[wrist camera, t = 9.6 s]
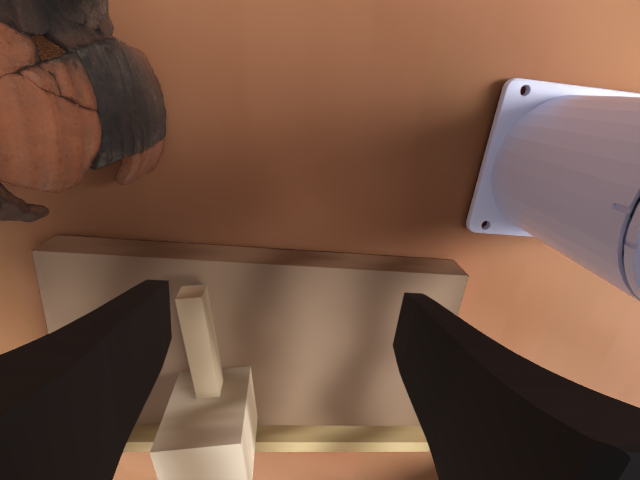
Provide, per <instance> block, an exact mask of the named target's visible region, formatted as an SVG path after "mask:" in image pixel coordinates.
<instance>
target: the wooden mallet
mask: <svg viewBox="0 0 640 480" xmlns="http://www.w3.org/2000/svg"><path fill="white" fill-rule="evenodd" d="M175 302H176V307H177V311H178V316H179V321H180V325H181V330H182V334H183V339H184V344H185V348H186V353H187V357H188V362H189V367H190V371H187V372H180V373H179V375H178V378H177V381H176V383H175V386H174V389H173V391H172V394H171V397H170V399H169V402H168V405H167V408H166V410H165V413H164V416H163V418H162V421H161V424H160V426H159V429H158V432H157V434H156V437H155V440H154V442H153V445H152V448H151V451H150V455H151V458H152V462H153V465H154V468H155V471H156V475H157V478H158V480H252V476H253V465H254V453H255V442H256V430H257V419H258V416H257V409H256V402H255V394H254V387H253V380H252V372H251V366H246V367H234V368H221V362H220V357H219V351H218V345H217V339H216V334H215V328H214V322H213V317H212V311H211V305H210V299H209V294H208V288H207V284H204V285H203V284H202V283H196V284H195V285H189V286H181V288H180V290H179V292H178V294H177V296H176V298H175Z"/></svg>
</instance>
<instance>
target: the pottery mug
mask: <svg viewBox="0 0 640 480" xmlns="http://www.w3.org/2000/svg"><path fill="white" fill-rule="evenodd" d="M113 30H114V28H113V24H112V22H111V20H110V18H109V13H108V0H0V180H1V181H3V182H6V183H9V184H12V185H21V186H25V187H27V188H30V189H36V190H44V191H48V192H60V191H62V190H64V189H68V188H72V187H73V186H75V185H78V184H79V183H80V182H81V181H82V179H83V177H84V176H85V174H86V172H87V170H88V169H89V168H91V169H94V170H97V169H99V168H102V167H105V166H108V165H110V164H112V163H113V162H115V161H119V160H122V162H121V165H120V168H119V170H118V172H117V174H116V176H115V178H114V179H115V181H116V182H117V183H118V184H119V185H126V184H129V183H131V182H133V181H135V180H136V179H138V178H140V177H141V176H142V175H144V174H145V173H148V172H150V171H152V170H153V169H154V167H155V166H156V164H157V163H158V161H159V158H160V156H161V154H162V150H163V145H164V138H165V134H166V110H165V106H164V101H163V94H162V91H161V87H160V84H159V81H158V79H157V77H156V76H155V74H154V72H153V69H152V68H151V65H150V64H149V62H148V61H147V59H146V57H145V56H144V54H143V53H142V52H141V51H140V50H138V49H135V48H132V47H129V46H128V45H127V44H126V43H124V42H122V41H119V40H117V39H116V38H115V37H113V36H112V34H113ZM40 35H43V36H44V37H46V38H47V39H48V40H50V41H51V42H53V43H55V44H56V45H58V46H60V47H61V48H62V49H64V50H65V51H66V53H65V54H64V55H63V56H61V57H57V58H54V59H50V60H45V61H42V60H41V59H40V57H39V52H38V49H37V46H36V45H35V43H34V42H33V40H32V39H31V37H30V36H40ZM48 213H49V209H47V208H46V207H44V206H41V205H35V204H27V203H26V202H25V201H23V200H22V199H19V198H17V197H16V196H14V195H13V194H12V193H10V192H9V191H8V190H7V189H6V188H5V187H4V186H3V185H2V184H1V183H0V221H6V220H12V221H24V222H33V221H36V220H38V219H40V218H42V217H45V216H47V215H48Z"/></svg>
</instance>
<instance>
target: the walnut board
mask: <svg viewBox="0 0 640 480" xmlns="http://www.w3.org/2000/svg"><path fill="white" fill-rule="evenodd" d="M32 256H33V261H34V266H35V271H36V276H37V280H38V285H39V290H40V295H41V300H42V305H43V310H44V314H45V319H46V324H47V329H48V334H50V333H52V332H54V331H56V330H58V329H60V328H61V327H63V326H65V325H67V324H69V323H71V322H73V321H75V320H76V319H78V318H80V317H82V316H84V315H86V314H88V313H90V312H91V311H93V310H95V309H97V308H98V307H100V306H102V305H104V304H105V303H107V302H109V301H110V300H112V299H114V298H115V297H117V296H119V295H121V294H122V293H124V292H126V291H127V290H129V289H131V288H132V287H134V286H136V285H138V284H139V283H141V282H143V281H145V280H147V279H148V280H168V281H169V293H170V312H171V330H172V339H171V342H170V346H169V349H168V352H167V355H166V358H165V361H164V364H163V367H162V370H161V372H160V374H159V376H158V378H157V380H156V382H155V385H154V387H153V389H152V391H151V393H150V395H149V397H148V399H147V401H146V403H145V405H144V407H143V410H142V412H141V414H140V416H139V418H138V420H137V422H136V424H135V426H134V428H133V430H132V432H131V434H130V437H129V439H128V441H127V443H126V446H125V448H124V450H123V452H150V451H151V448H152V445H153V442H154V440H155V437H156V434H157V432H158V429H159V426H160V424H161V421H162V418H163V416H164V413H165V410H166V408H167V405H168V402H169V399H170V397H171V394H172V391H173V389H174V386H175V383H176V381H177V378H178V375H179V373H180V372H187V371H190V367H189V362H188V357H187V353H186V348H185V344H184V339H183V334H182V330H181V325H180V321H179V316H178V311H177V307H176V302H175V298H176V296H177V294H178V292H179V290H180V288H181V286H189V285H195V284H196V283H202V284H203V285H204V284H207V288H208V294H209V299H210V305H211V311H212V317H213V322H214V328H215V334H216V339H217V345H218V351H219V357H220V362H221V368H234V367H246V366H251V372H252V380H253V387H254V394H255V402H256V409H257V416H258V419H257V430H256V442H255V452H426V451H429V450H430V448H429V446H428V443H427V440H426V437H425V435H424V433H423V430H422V428H421V425H420V423H419V420H418V418H417V415H416V413H415V411H414V408H413V406H412V403H411V401H410V398H409V396H408V393H407V391H406V388H405V386H404V383H403V381H402V378H401V376H400V373H399V369H398V365H397V362H396V358H395V353H394V349H393V341H394V337H395V332H396V328H397V323H398V319H399V314H400V309H401V305H402V300H403V296H404V293H423V294H425V295H427V296H428V297H430V298H432V299H433V300H435V301H436V302H438V303H439V304H441V305H442V306H443V307H445V308H446V309H448V310H449V311H451V312H452V313H454V314H455V315H456V316H457V315H458V312H459V308H460V305H461V301H462V298H463V294H464V291H465V287H466V284H467V281H468V277H469V275H468V274H467V273H466V272H465V271H464V270H463V269H462V268H461V267H460V266H459V265H458V264H457V263H456V262H455V261H454V260H447V259H431V258H415V257H399V256H383V255H367V254H351V253H335V252H319V251H303V250H287V249H271V248H256V247H240V246H224V245H208V244H192V243H176V242H160V241H144V240H128V239H112V238H96V237H80V236H64V235H55V236H53V237H52V238H50V239H49V240H47V241H45V242H44V243H42V244H41V245H39V246H38V247H36V248H35V249H33V250H32Z"/></svg>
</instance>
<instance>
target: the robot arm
mask: <svg viewBox="0 0 640 480" xmlns="http://www.w3.org/2000/svg"><path fill="white" fill-rule="evenodd" d="M522 86H525V87H526V91H525V93H524V94H523V95H521V94H520V89H521V88H522ZM484 221H487V224H486V225H485V226H484V227H481V225H482V223H483V222H484ZM466 226H467V228H468V229H469V230H470V231H471V232H474V233H487V234H501V235H514V236H528V237H535V238H537V239H539V240H540V241H542V242H544V243H545V244H547V245H548V246H550V247H552V248H553V249H555V250H557V251H558V252H560V253H562V254H563V255H565V256H566V257H568V258H570V259H571V260H573V261H575V262H576V263H578V264H580V265H581V266H583V267H584V268H586V269H588V270H589V271H591V272H593V273H594V274H596V275H598V276H599V277H601V278H602V279H604V280H606V281H607V282H609V283H611V284H612V285H614V286H616V287H617V288H619V289H620V290H622V291H624V292H625V293H627V294H629V295H630V296H632V297H634V298H635V299H637V300H638V301H640V93H632V92H625V91H617V90H609V89H601V88H593V87H585V86H577V85H569V84H561V83H553V82H545V81H538V80H530V79H522V78H512V79H509V80H507V81H506V83H505V84H504V86H503V88H502V91H501V95H500V99H499V102H498V106H497V110H496V113H495V117H494V121H493V125H492V128H491V132H490V136H489V139H488V143H487V147H486V150H485V154H484V158H483V161H482V165H481V169H480V173H479V176H478V180H477V184H476V187H475V191H474V195H473V198H472V202H471V206H470V210H469V213H468V217H467V221H466ZM171 339H172V330H171V312H170V293H169V281H168V280H148V279H147V280H145V281H143V282H141V283H139V284H138V285H136V286H134V287H132V288H131V289H129V290H127V291H126V292H124V293H122V294H121V295H119V296H117V297H115V298H114V299H112V300H110V301H109V302H107V303H105V304H104V305H102V306H100V307H98V308H97V309H95V310H93V311H91V312H90V313H88V314H86V315H84V316H82V317H80V318H78V319H76V320H75V321H73V322H71V323H69V324H67V325H65V326H63V327H61V328H60V329H58V330H56V331H54V332H52V333H50V334H47V335H45V336H43V337H41V338H39V339H37V340H34V341H32V342H30V343H28V344H25V345H23V346H21V347H18V348H16V349H14V350H11V351H9V352H6V353H4V354H1V355H0V480H112V479H113V477H114V474H115V471H116V468H117V466H118V463H119V460H120V457H121V455H122V453H123V450H124V448H125V446H126V443H127V441H128V439H129V437H130V434H131V432H132V430H133V428H134V426H135V424H136V422H137V420H138V418H139V416H140V414H141V412H142V410H143V407H144V405H145V403H146V401H147V399H148V397H149V395H150V393H151V391H152V389H153V387H154V385H155V382H156V380H157V378H158V376H159V374H160V372H161V370H162V367H163V364H164V361H165V358H166V355H167V352H168V349H169V346H170V342H171ZM393 349H394V353H395V358H396V362H397V365H398V369H399V373H400V376H401V378H402V381H403V383H404V386H405V388H406V391H407V393H408V396H409V398H410V401H411V403H412V406H413V408H414V411H415V413H416V415H417V418H418V420H419V423H420V425H421V428H422V430H423V433H424V435H425V437H426V440H427V443H428V446H429V448H430V451H431V454H432V457H433V460H434V464H435V467H436V471H437V474H438V477H439V480H640V408H638V407H636V406H633V405H630V404H628V403H625V402H622V401H620V400H617V399H614V398H611V397H609V396H606V395H604V394H601V393H599V392H596V391H594V390H591V389H589V388H586V387H584V386H582V385H579V384H577V383H575V382H573V381H570V380H568V379H566V378H564V377H561V376H559V375H557V374H555V373H553V372H551V371H549V370H547V369H545V368H542V367H540V366H539V365H537V364H535V363H533V362H531V361H529V360H527V359H525V358H523V357H522V356H520V355H518V354H516V353H514V352H513V351H511V350H509V349H507V348H506V347H504V346H502V345H501V344H499V343H497V342H496V341H494V340H493V339H491V338H489V337H488V336H486V335H485V334H483V333H482V332H480V331H478V330H477V329H475V328H474V327H472V326H471V325H469V324H468V323H467V322H465V321H464V320H462V319H461V318H459V317H458V316H456V315H455V314H454V313H452V312H451V311H449V310H448V309H446V308H445V307H443V306H442V305H441V304H439V303H438V302H436V301H435V300H433V299H432V298H430V297H428V296H427V295H425V294H423V293H404V296H403V300H402V305H401V309H400V314H399V319H398V323H397V328H396V332H395V337H394V341H393Z"/></svg>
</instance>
